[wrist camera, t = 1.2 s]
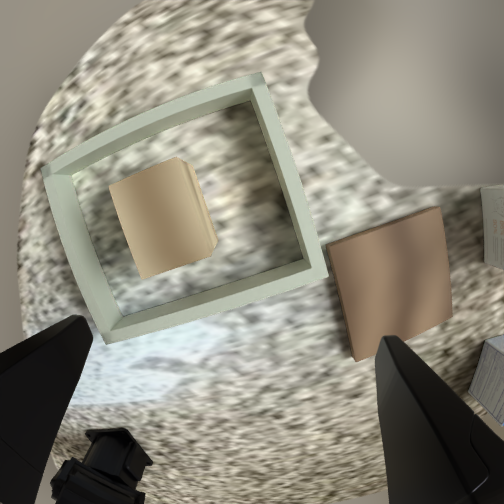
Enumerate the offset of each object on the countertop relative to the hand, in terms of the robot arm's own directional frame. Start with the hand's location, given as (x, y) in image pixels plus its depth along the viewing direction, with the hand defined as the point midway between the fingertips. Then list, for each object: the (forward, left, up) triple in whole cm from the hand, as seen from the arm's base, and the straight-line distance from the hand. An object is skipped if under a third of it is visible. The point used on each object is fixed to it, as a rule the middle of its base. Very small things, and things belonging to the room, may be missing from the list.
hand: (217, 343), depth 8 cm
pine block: (-3, +4, -15) cm, 16 cm away
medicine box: (+25, -24, -16) cm, 38 cm away
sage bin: (-3, +4, -15) cm, 16 cm away
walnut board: (+12, -8, -15) cm, 21 cm away
